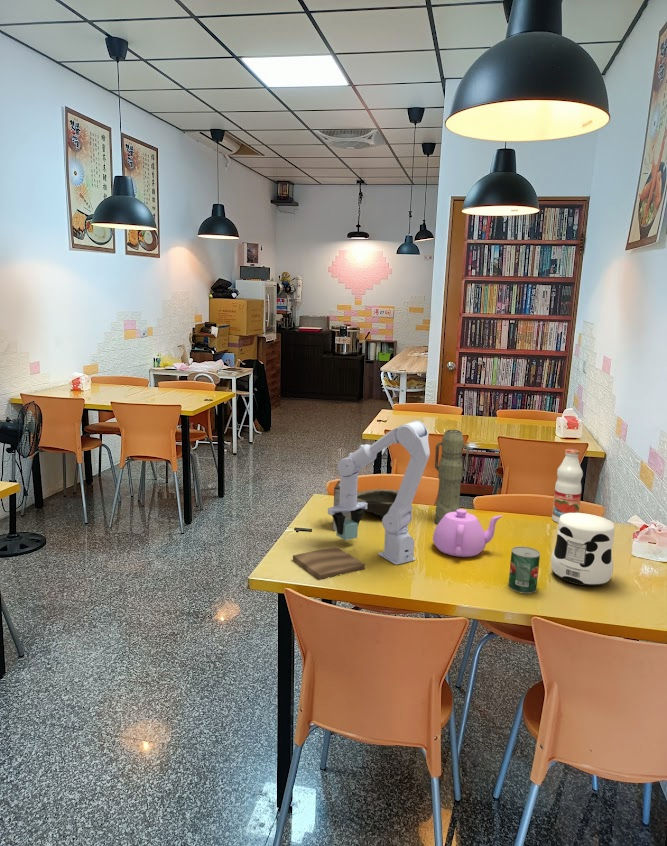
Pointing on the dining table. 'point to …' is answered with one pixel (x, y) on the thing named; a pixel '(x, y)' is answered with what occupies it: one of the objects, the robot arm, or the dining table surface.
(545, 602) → the dining table surface
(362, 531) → the dining table surface
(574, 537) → the milk container
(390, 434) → the robot arm
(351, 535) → the teal cube
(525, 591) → the canned tomato
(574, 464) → the fruit juice
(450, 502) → the thermos
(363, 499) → the stone bowl
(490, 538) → the teapot
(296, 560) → the walnut board
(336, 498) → the coffee box
